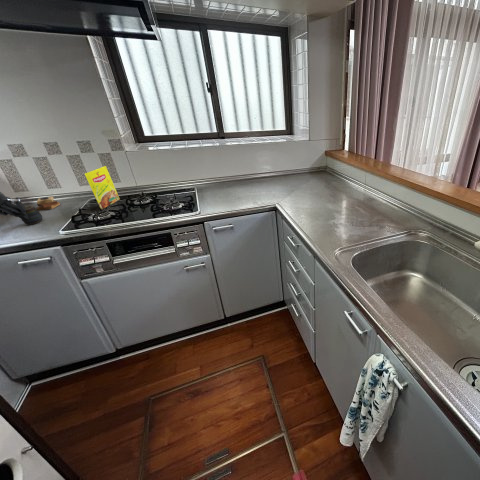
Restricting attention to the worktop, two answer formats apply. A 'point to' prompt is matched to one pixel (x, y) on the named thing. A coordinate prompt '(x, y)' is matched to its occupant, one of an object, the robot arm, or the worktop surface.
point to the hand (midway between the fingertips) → (26, 217)
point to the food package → (102, 187)
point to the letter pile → (46, 203)
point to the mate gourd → (32, 215)
